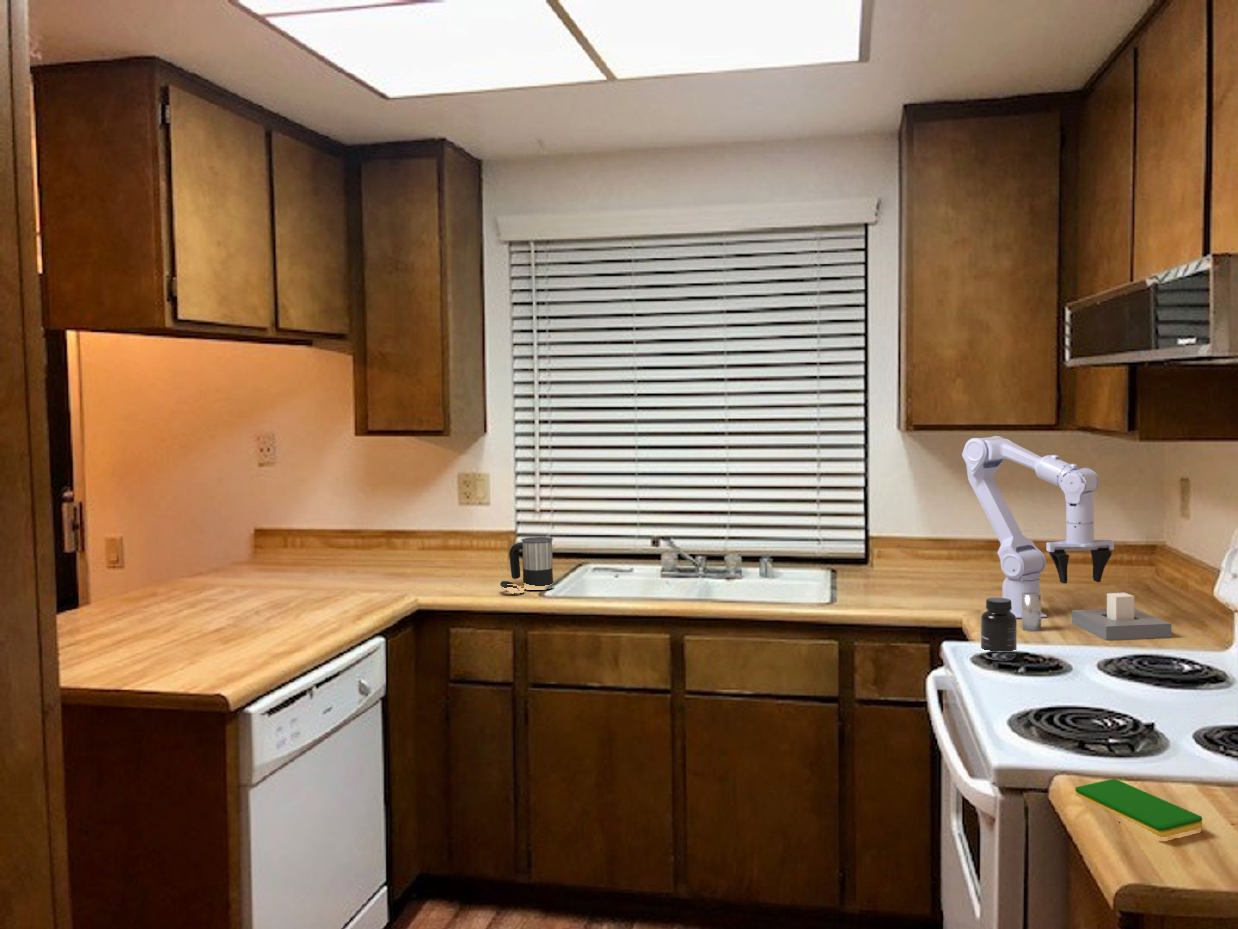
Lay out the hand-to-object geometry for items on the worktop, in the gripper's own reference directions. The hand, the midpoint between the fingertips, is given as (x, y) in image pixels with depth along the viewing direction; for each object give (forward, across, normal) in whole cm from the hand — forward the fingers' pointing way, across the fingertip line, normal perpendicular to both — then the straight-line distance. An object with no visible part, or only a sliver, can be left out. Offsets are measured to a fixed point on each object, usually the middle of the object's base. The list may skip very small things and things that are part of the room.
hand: (1080, 582), depth 231 cm
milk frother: (+10, -130, +66) cm, 147 cm away
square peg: (+10, +6, -6) cm, 13 cm away
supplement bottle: (+10, -28, -24) cm, 38 cm away
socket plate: (+10, +6, -6) cm, 13 cm away
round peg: (+10, -12, -2) cm, 16 cm away
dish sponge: (+11, -40, -100) cm, 108 cm away
